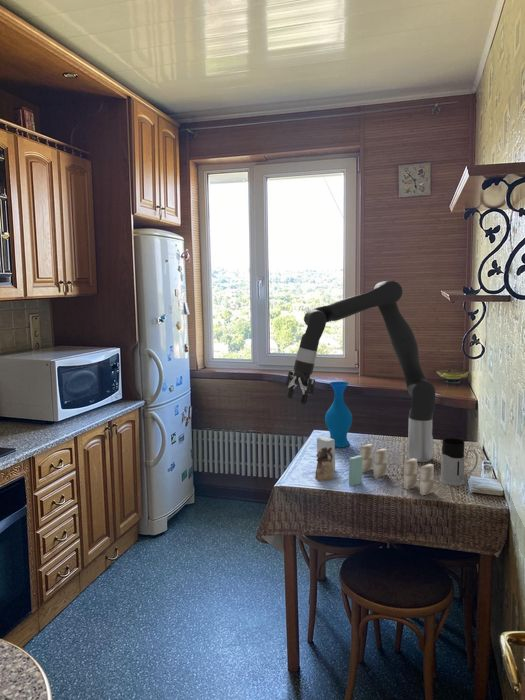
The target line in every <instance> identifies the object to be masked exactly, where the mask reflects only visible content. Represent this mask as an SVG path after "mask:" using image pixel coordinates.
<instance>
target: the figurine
mask: <svg viewBox="0 0 525 700" xmlns="http://www.w3.org/2000/svg"><path fill="white" fill-rule="evenodd" d="M331 450H332V448H331V447H330V448H329V449H328V450H327V448H326V447H325V446H324V447H322V448H321V449H320V450H319V452H318V454H317V453H316V455H315V456H316V457H317V458H316V462H317V461H318V462H317V464H316V467H315V468H316V469H315V475H314V477H315V480H317V481H319V482H330V481H333V480H334V478H335V469H334V468H333V463H332V458H333V455H332V453H331V452H330V451H331ZM328 455H329V456H330V457H331V459H330V458H329V457H328Z"/></svg>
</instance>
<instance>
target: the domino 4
mask: <svg viewBox="0 0 525 700" xmlns="http://www.w3.org/2000/svg"><path fill="white" fill-rule="evenodd" d="M403 464H404V465H403V489H404V488H407V489H408V488H411V487H413V488H415V487H414V486H416V487H417V482H418V481H417V480H418V478H417V477H418V473H417V472H418V462H417V459H414V458H413V459H407V460H404V462H403ZM407 489H406V490H407ZM411 489H412V488H411ZM408 490H409V489H408Z"/></svg>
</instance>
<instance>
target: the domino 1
mask: <svg viewBox="0 0 525 700" xmlns="http://www.w3.org/2000/svg"><path fill="white" fill-rule="evenodd" d="M348 470H349V471H348V485H349V486H351V487H353V485H354V486H357V485H359V484H362V483H363V472H362V456H360V454H359V455H355V456H352V457H349V460H348Z"/></svg>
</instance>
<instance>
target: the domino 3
mask: <svg viewBox="0 0 525 700" xmlns="http://www.w3.org/2000/svg"><path fill="white" fill-rule="evenodd" d="M373 451H374V452H373V454H374V455H373V477H374V478H376V479H378V478H381V477H383V476H386V475H387V457H388V456H387V455H388V454H387V451H388V450H387V449H386V448H380V449H376V450H373Z"/></svg>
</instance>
